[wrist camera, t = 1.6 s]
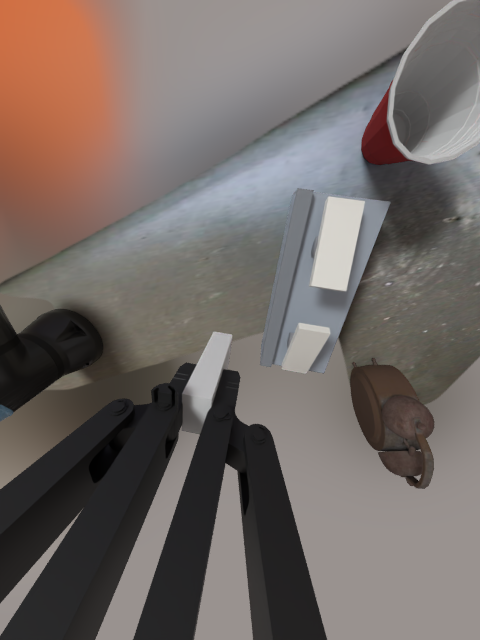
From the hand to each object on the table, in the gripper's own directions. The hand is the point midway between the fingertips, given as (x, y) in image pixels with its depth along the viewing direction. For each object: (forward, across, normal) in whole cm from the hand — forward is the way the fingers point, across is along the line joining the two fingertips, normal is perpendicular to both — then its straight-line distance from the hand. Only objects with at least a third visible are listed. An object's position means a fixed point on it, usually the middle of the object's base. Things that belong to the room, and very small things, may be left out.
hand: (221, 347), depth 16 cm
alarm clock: (+25, +28, -17) cm, 41 cm away
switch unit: (+24, +11, 0) cm, 27 cm away
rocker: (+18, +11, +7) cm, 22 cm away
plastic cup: (+25, +16, +22) cm, 37 cm away
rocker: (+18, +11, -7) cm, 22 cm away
